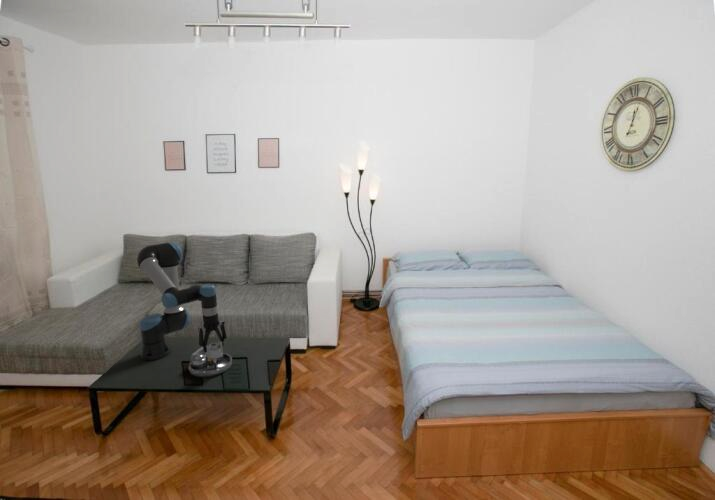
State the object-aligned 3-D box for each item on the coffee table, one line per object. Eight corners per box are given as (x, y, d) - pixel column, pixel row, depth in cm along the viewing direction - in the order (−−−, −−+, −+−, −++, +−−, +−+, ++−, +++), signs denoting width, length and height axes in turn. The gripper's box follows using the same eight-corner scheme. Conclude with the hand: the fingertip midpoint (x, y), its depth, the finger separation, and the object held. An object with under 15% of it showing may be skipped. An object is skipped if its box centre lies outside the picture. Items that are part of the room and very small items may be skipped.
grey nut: (211, 359, 206) (210, 348, 205) (205, 355, 211) (204, 344, 210) (223, 354, 211) (222, 344, 210) (217, 350, 216) (216, 340, 214)
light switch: (191, 368, 215) (190, 355, 213) (204, 358, 226) (202, 345, 225) (194, 369, 215) (192, 355, 213) (206, 358, 226) (205, 346, 224)
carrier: (183, 367, 217) (181, 353, 216) (220, 353, 232) (219, 341, 231) (200, 382, 202) (198, 367, 200) (239, 366, 217) (238, 353, 215)
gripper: (194, 321, 197) (199, 363, 202) (231, 310, 210) (234, 350, 215) (188, 317, 202) (193, 358, 207) (224, 307, 216) (228, 346, 220)
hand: (214, 354), depth 211 cm, fingers closed on grey nut, 7 cm apart
